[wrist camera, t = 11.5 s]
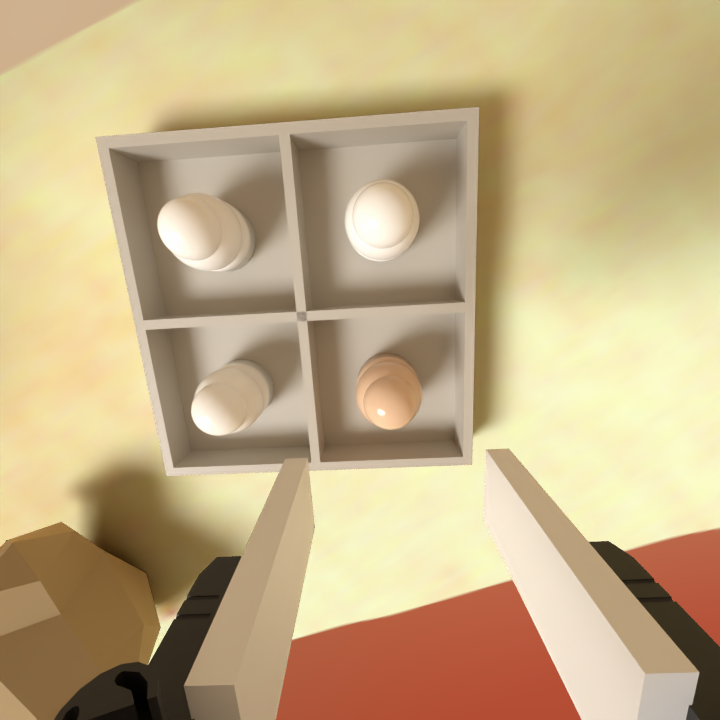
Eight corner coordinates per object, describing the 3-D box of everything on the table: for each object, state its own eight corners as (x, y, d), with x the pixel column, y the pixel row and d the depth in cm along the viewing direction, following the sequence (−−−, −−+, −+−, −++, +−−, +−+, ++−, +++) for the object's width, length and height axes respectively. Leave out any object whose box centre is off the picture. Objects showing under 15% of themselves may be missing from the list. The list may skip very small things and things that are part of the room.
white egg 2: (220, 415, 25) (178, 454, 19) (211, 360, 24) (164, 384, 18) (277, 413, 25) (250, 452, 19) (270, 357, 24) (240, 381, 18)
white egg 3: (349, 264, 22) (343, 259, 17) (345, 195, 21) (336, 165, 16) (413, 260, 22) (428, 254, 17) (412, 190, 21) (427, 158, 16)
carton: (188, 454, 26) (166, 475, 24) (132, 156, 22) (95, 137, 19) (460, 443, 26) (472, 464, 23) (463, 130, 21) (479, 106, 18)
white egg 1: (197, 273, 23) (141, 271, 17) (187, 205, 22) (124, 180, 16) (259, 270, 23) (223, 267, 17) (251, 202, 22) (211, 175, 16)
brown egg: (358, 410, 25) (355, 449, 19) (355, 354, 24) (351, 377, 18) (416, 408, 24) (430, 446, 19) (415, 351, 23) (430, 373, 18)
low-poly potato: (185, 640, 31) (211, 627, 24) (37, 801, 23) (8, 857, 16) (90, 515, 33) (87, 468, 26) (-78, 622, 25) (-151, 597, 18)
